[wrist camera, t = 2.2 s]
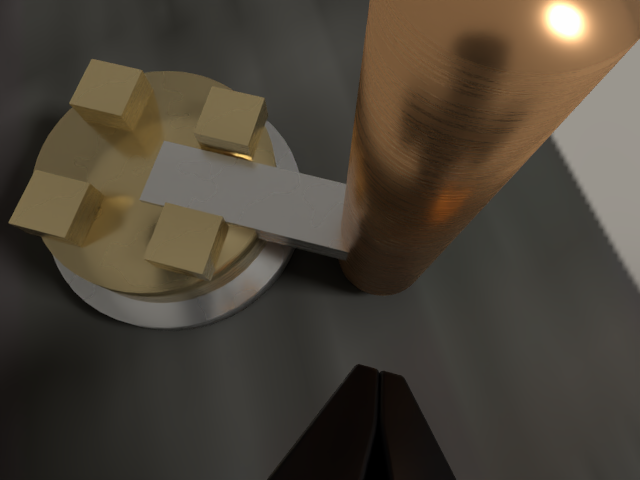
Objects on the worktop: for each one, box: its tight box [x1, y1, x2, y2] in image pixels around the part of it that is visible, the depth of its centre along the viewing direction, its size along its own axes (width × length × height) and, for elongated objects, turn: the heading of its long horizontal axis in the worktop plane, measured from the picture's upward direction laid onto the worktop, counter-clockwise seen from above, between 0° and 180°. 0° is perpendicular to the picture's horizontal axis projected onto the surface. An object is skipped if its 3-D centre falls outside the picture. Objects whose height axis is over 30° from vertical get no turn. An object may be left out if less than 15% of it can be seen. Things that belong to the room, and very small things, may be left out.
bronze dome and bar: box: [8, 0, 640, 303], centre depth 11 cm, size 14×8×12 cm, turn 75°
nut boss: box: [53, 121, 299, 331], centre depth 17 cm, size 10×10×1 cm
